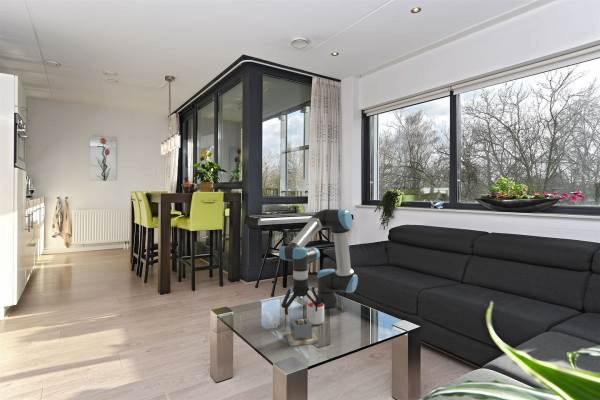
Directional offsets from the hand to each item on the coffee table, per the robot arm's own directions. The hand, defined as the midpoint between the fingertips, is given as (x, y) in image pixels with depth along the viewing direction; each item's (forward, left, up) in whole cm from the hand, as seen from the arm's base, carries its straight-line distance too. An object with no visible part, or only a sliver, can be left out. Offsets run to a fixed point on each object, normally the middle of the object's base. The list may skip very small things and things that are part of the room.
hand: (301, 319), depth 181 cm
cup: (-13, -19, -10) cm, 26 cm away
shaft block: (0, 0, -10) cm, 10 cm away
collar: (0, 0, -8) cm, 8 cm away
